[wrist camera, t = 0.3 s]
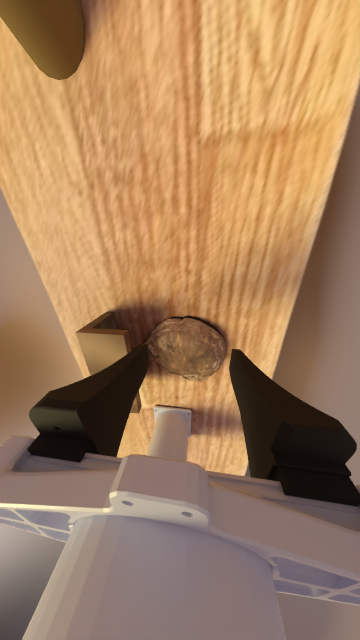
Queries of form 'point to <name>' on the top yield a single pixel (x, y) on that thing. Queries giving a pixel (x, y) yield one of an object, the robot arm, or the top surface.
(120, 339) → the walnut shelf
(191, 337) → the shell
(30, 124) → the top surface
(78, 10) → the olive pepper mill
